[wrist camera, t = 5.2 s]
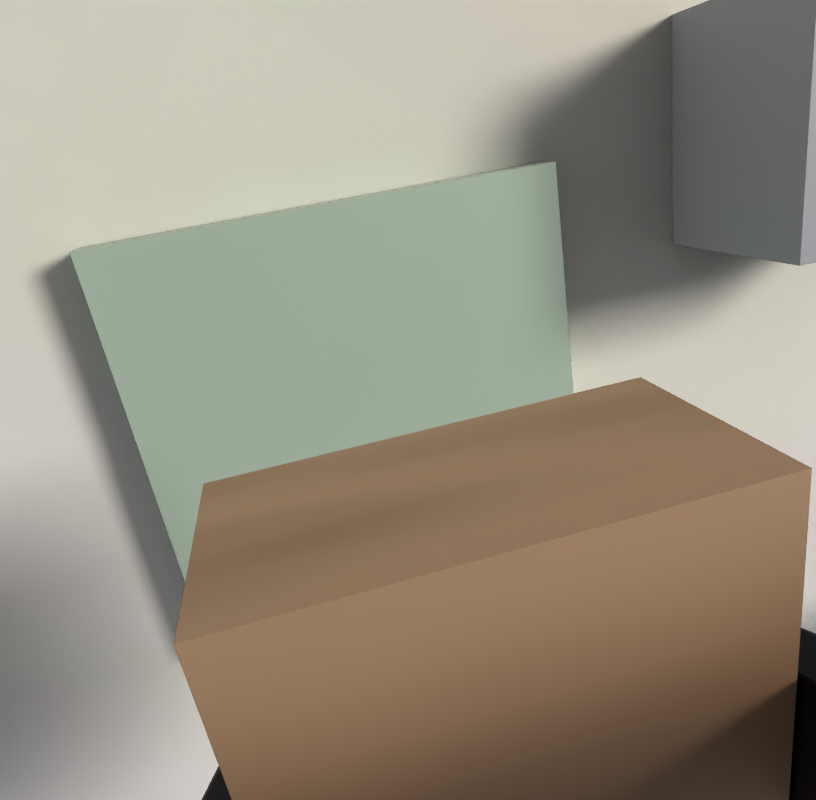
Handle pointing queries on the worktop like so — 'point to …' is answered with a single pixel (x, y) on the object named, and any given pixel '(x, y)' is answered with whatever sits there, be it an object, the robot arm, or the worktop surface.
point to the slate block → (745, 128)
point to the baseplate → (330, 326)
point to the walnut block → (506, 610)
